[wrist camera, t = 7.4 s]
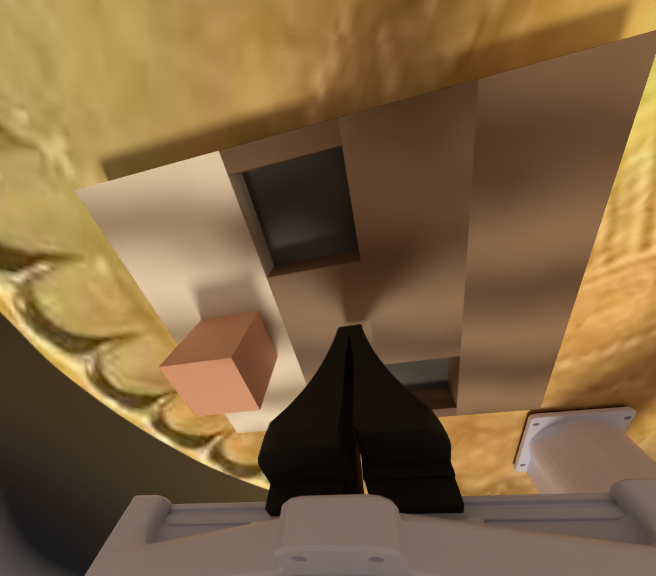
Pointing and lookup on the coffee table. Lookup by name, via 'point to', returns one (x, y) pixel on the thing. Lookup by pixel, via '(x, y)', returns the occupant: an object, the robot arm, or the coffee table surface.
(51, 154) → the coffee table surface
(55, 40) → the coffee table surface
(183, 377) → the block
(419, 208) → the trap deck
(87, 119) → the coffee table surface
